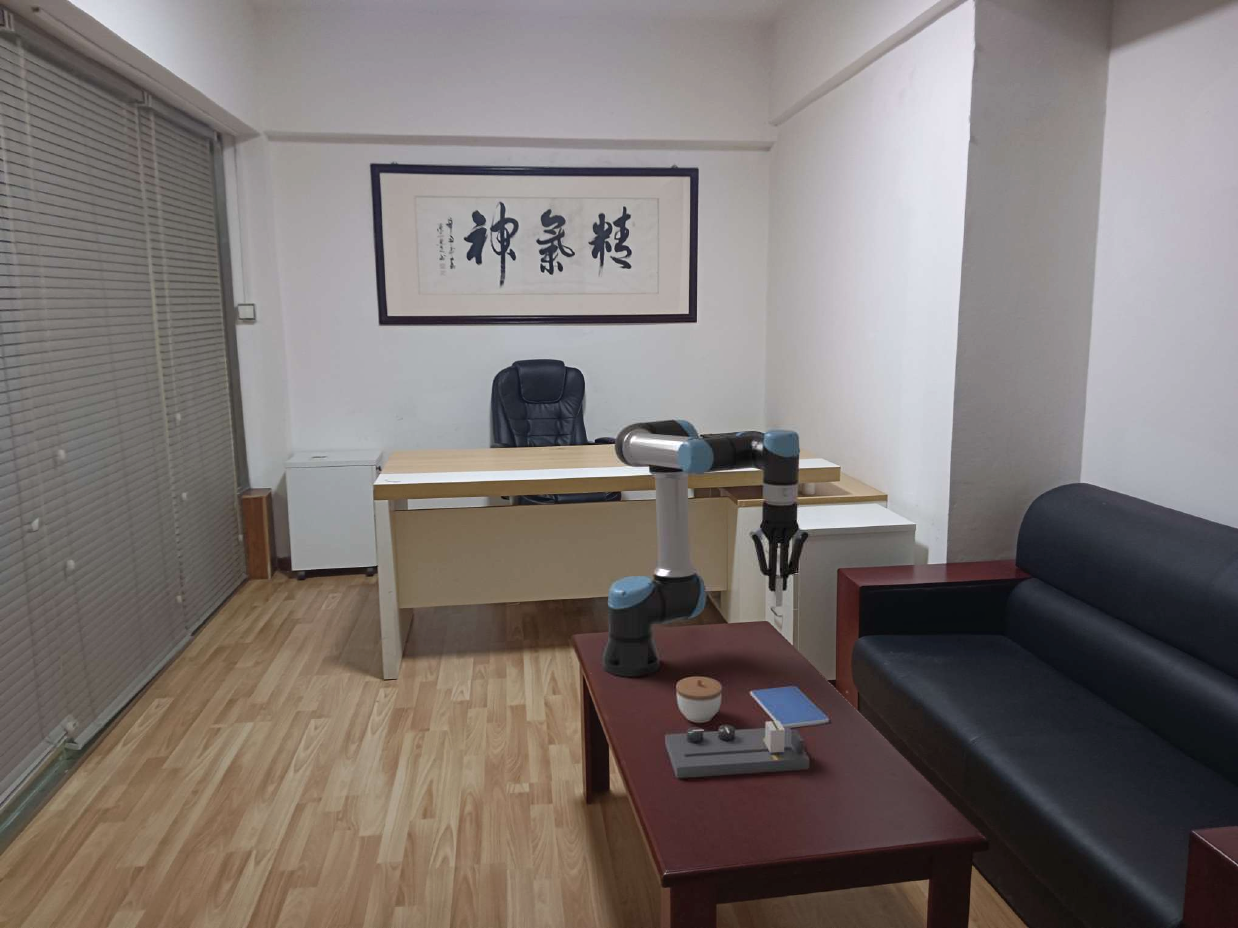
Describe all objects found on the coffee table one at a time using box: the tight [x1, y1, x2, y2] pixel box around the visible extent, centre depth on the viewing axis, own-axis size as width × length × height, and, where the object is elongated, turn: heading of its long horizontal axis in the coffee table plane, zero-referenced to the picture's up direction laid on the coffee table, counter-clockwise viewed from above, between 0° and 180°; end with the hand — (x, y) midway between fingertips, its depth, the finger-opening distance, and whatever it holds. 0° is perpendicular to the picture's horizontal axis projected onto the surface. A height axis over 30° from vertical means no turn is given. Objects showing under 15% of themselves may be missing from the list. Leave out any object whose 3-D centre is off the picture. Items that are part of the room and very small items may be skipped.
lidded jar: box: [675, 676, 723, 724], centre depth 209 cm, size 11×11×9 cm
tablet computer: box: [749, 685, 830, 729], centre depth 214 cm, size 19×13×1 cm, turn 14°
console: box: [664, 724, 810, 779], centre depth 191 cm, size 14×28×5 cm, turn 97°
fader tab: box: [764, 720, 785, 753], centre depth 189 cm, size 4×3×5 cm
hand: (777, 604), depth 199 cm, fingers closed
